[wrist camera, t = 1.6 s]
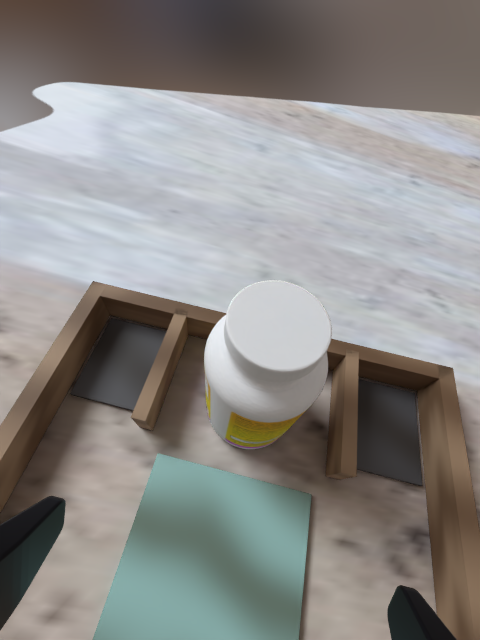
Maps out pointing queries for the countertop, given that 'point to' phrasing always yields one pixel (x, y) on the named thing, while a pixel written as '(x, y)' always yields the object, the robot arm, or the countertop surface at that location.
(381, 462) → the wooden compartment box
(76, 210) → the countertop surface
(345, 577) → the countertop surface
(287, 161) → the countertop surface
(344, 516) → the countertop surface
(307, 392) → the supplement bottle
